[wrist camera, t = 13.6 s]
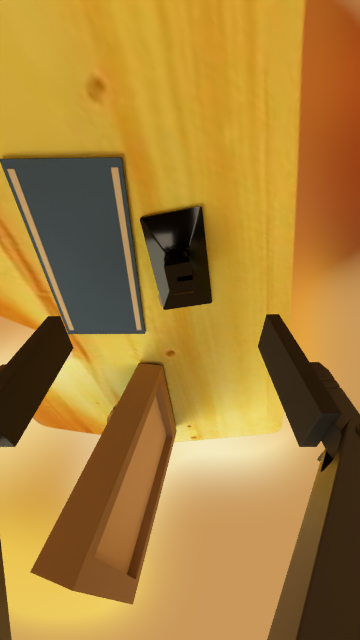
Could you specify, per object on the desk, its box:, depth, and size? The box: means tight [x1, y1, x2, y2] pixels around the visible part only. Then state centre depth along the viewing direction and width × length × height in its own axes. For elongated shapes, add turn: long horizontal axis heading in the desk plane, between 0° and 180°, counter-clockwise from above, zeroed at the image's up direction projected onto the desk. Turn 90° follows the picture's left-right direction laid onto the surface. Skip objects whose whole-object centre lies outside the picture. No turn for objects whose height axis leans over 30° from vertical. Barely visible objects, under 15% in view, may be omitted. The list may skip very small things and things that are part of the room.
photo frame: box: [31, 363, 176, 604], centre depth 34 cm, size 15×22×25 cm
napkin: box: [0, 157, 145, 334], centre depth 27 cm, size 22×12×1 cm, turn 1°
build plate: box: [140, 206, 212, 310], centre depth 26 cm, size 12×7×5 cm, turn 10°
